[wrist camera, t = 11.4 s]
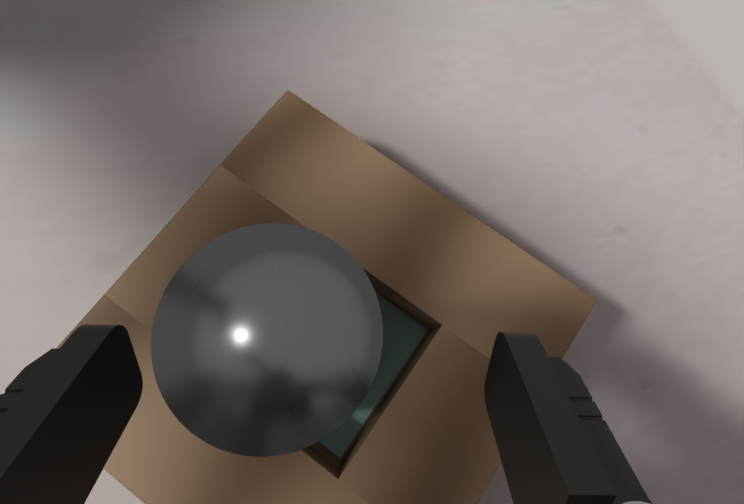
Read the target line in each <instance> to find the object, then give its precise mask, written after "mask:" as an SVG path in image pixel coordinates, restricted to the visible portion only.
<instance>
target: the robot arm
mask: <svg viewBox="0 0 744 504" xmlns="http://www.w3.org/2000/svg"><path fill="white" fill-rule="evenodd" d="M142 388H143V378H142V374H141V370H140V367H139V364H138V361H137V358H136V355H135V352H134V349H133V346H132V343H131V340H130V337H129V334H128V331H127V329H126V328H125V327H124V326H122V325H100V324H84V325H81V326H79V327H78V328H77V329H76V330H75V331H74V332H73V333H72V334H71V335H70V337H69V338H68V339H67V340H66V341H65V342H64V344H63V345H62V346H61V347H60V348H59V349H51V350H50V351H48V352H47V353H45V354H44V355H42V356H41V357H39V358H38V359H37V360H35V361H34V362H32V363H31V364H29V365H28V366H26V367H25V368H24V369H23V370H22V371H21V372H20V374H19V375H18V376H17V377H16V378H15V379H14V380H13V381H12V382H11V384H10V385H9V386H8V387H7V388H6V389H5V393H4V394H1V395H0V504H84V503H85V501H86V499H87V497H88V495H89V494H90V492H91V490H92V488H93V486H94V484H95V483H96V481H97V479H98V477H99V475H100V473H101V472H102V470H103V468H104V466H105V464H106V462H107V461H108V459H109V457H110V455H111V453H112V451H113V450H114V448H115V446H116V444H117V442H118V440H119V439H120V437H121V435H122V433H123V431H124V430H125V428H126V426H127V424H128V422H129V420H130V419H131V417H132V415H133V413H134V411H135V409H136V408H137V406H138V404H139V401H140V398H141V394H142ZM484 396H485V404H486V409H487V413H488V416H489V420H490V423H491V427H492V430H493V433H494V437H495V440H496V444H497V447H498V451H499V454H500V458H501V461H502V465H503V468H504V471H505V475H506V478H507V482H508V485H509V489H510V492H511V496H512V499H513V503H514V504H652V502H651V501H650V500H649V498H648V497H647V495H646V493H645V492H644V490H643V488H642V486H641V485H640V483H639V481H638V479H637V477H636V476H635V474H634V472H633V470H632V468H631V467H630V465H629V463H628V461H627V459H626V458H625V456H624V454H623V452H622V450H621V449H620V447H619V445H618V443H617V442H616V440H615V438H614V436H613V434H612V433H611V431H610V429H609V427H608V425H607V424H606V422H605V420H602V415H601V413H600V411H599V409H598V407H597V406H596V404H595V402H592V397H591V395H590V393H589V391H588V389H587V388H586V386H585V384H584V382H583V380H582V379H581V377H580V375H579V374H578V373H576V372H575V371H574V370H573V369H572V368H571V367H570V366H569V365H568V364H567V363H566V362H565V361H564V360H563V359H562V358H560V357H548V356H547V354H546V352H545V350H544V348H543V346H542V344H541V342H540V340H539V338H538V336H537V335H536V334H535V333H533V332H499V333H498V334H497V336H496V338H495V342H494V346H493V350H492V354H491V358H490V362H489V366H488V371H487V375H486V379H485V386H484Z"/></svg>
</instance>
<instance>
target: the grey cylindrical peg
mask: <svg viewBox="0 0 744 504" xmlns="http://www.w3.org/2000/svg"><path fill="white" fill-rule="evenodd" d="M382 353H383V324H382V315H381V310H380V306H379V302H378V299H377V296H376V293H375V290H374V288H373V286H372V284H371V282H370V280H369V278H368V276H367V274H366V273H365V272H364V270H363V269H362V267H361V266H360V265H359V263H358V262H357V261H356V260H355V259H354V258H353V257H352V256H351V255H350V253H349V252H347V251H346V250H345V249H344V248H343V247H341V246H340V245H339V244H338V243H336V242H334V241H333V240H331V239H330V238H328V237H326V236H324V235H322V234H320V233H318V232H316V231H314V230H310V229H307V228H304V227H301V226H296V225H290V224H280V223H266V224H256V225H251V226H246V227H242V228H239V229H236V230H233V231H230V232H228V233H225V234H223V235H221V236H219V237H217V238H215V239H213V240H212V241H210V242H209V243H207V244H205V245H204V246H203V247H201V248H200V249H199V250H198V251H196V252H195V253H194V254H193V255H191V256H190V258H189V259H188V260H187V261H186V262H185V263H184V264H183V265H182V266H181V267H180V268H179V270H178V271H177V272H176V273H175V275H174V276H173V277H172V279H171V281H170V282H169V284H168V286H167V287H166V289H165V291H164V293H163V295H162V297H161V300H160V302H159V304H158V307H157V311H156V314H155V318H154V322H153V328H152V334H151V357H152V366H153V371H154V375H155V379H156V382H157V385H158V387H159V390H160V392H161V395H162V397H163V399H164V400H165V402H166V404H167V406H168V407H169V409H170V410H171V412H172V413H173V414H174V415H175V417H176V418H177V419H178V421H179V422H180V423H181V424H182V425H183V426H184V427H186V428H187V429H188V430H189V431H190V432H191V433H192V434H194V435H195V436H196V437H198V438H199V439H201V440H202V441H204V442H206V443H208V444H210V445H212V446H214V447H216V448H218V449H220V450H223V451H226V452H229V453H232V454H238V455H243V456H250V457H269V456H279V455H284V454H288V453H292V452H296V451H299V450H301V449H304V448H306V447H309V446H311V445H313V444H315V443H317V442H319V441H320V440H322V439H324V438H326V437H327V436H329V435H330V434H331V433H333V432H334V431H335V430H337V429H338V428H339V427H340V426H341V425H342V424H343V423H344V422H345V421H346V420H347V419H348V418H350V417H351V415H352V414H353V413H354V412H355V410H356V409H357V408H358V407H359V405H360V404H361V403H362V401H363V399H364V398H365V396H366V394H367V393H368V391H369V390H370V388H371V386H372V385H373V383H374V381H375V379H376V377H377V375H378V372H379V369H380V366H381V361H382Z"/></svg>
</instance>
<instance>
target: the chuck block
mask: <svg viewBox="0 0 744 504" xmlns="http://www.w3.org/2000/svg"><path fill="white" fill-rule="evenodd" d="M266 223H280V224H290V225H296V226H301V227H304V228H307V229H310V230H314V231H316V232H318V233H320V234H322V235H324V236H326V237H328V238H330V239H331V240H333V241H334V242H336V243H338V244H339V245H340V246H341V247H343V248H344V249H345V250H346V251H347V252H349V253H350V255H351V256H352V257H353V258H354V259H355V260H356V261H357V262H358V263H359V265H360V266H361V267H362V269H363V270H364V272H365V273H366V274H367V276H368V278H369V280H370V282H371V284H372V286H373V288H374V290H375V293H376V296H377V299H378V302H379V306H380V310H381V315H382V324H383V353H382V361H381V366H380V369H379V372H378V375H377V377H376V379H375V381H374V383H373V385H372V386H371V388H370V390H369V391H368V393H367V394H366V396H365V398H364V399H363V401H362V403H361V404H360V405H359V407H358V408H357V409H356V410H355V412H354V413H353V414H352V415H351V417H350V418H348V419H347V420H346V421H345V422H344V423H343V424H342V425H341V426H340V427H339V428H338V429H337V430H335V431H334V432H333V433H331V434H330V435H329V436H327V437H326V438H324V439H322V440H320V441H319V442H317V443H315V444H313V445H311V446H309V447H306V448H304V449H301V450H299V451H296V452H292V453H288V454H284V455H279V456H269V457H250V456H243V455H238V454H232V453H229V452H226V451H223V450H220V449H218V448H216V447H214V446H212V445H210V444H208V443H206V442H204V441H202V440H201V439H199V438H198V437H196V436H195V435H194V434H192V433H191V432H190V431H189V430H188V429H187V428H186V427H184V426H183V425H182V424H181V423H180V422H179V421H178V419H177V418H176V417H175V415H174V414H173V413H172V412H171V410H170V409H169V407H168V406H167V404H166V402H165V400H164V399H163V397H162V395H161V392H160V390H159V387H158V385H157V382H156V379H155V375H154V371H153V366H152V357H151V334H152V328H153V322H154V318H155V314H156V311H157V307H158V304H159V302H160V300H161V297H162V295H163V293H164V291H165V289H166V287H167V286H168V284H169V282H170V281H171V279H172V277H173V276H174V275H175V273H176V272H177V271H178V270H179V268H180V267H181V266H182V265H183V264H184V263H185V262H186V261H187V260H188V259H189V258H190V256H191V255H193V254H194V253H195V252H196V251H198V250H199V249H200V248H201V247H203V246H204V245H205V244H207V243H209V242H210V241H212V240H213V239H215V238H217V237H219V236H221V235H223V234H225V233H228V232H230V231H233V230H236V229H239V228H242V227H246V226H251V225H256V224H266ZM595 302H596V299H594V298H593V297H591V296H590V295H588V294H587V293H585V292H584V291H582V290H581V289H580V288H578V287H577V286H575V285H574V284H572V283H571V282H569V281H568V280H566V279H565V278H563V277H562V276H560V275H559V274H558V273H556V272H555V271H553V270H552V269H550V268H549V267H547V266H546V265H544V264H543V263H541V262H540V261H538V260H537V259H535V258H534V257H533V256H531V255H530V254H528V253H527V252H525V251H524V250H522V249H521V248H519V247H518V246H516V245H515V244H513V243H512V242H510V241H509V240H508V239H506V238H505V237H503V236H502V235H500V234H499V233H497V232H496V231H494V230H493V229H491V228H490V227H488V226H487V225H486V224H484V223H483V222H481V221H480V220H478V219H477V218H475V217H474V216H472V215H471V214H469V213H468V212H466V211H465V210H463V209H462V208H461V207H459V206H458V205H456V204H455V203H453V202H452V201H450V200H449V199H447V198H446V197H444V196H443V195H441V194H440V193H438V192H437V191H436V190H434V189H433V188H431V187H430V186H428V185H427V184H425V183H424V182H422V181H421V180H419V179H418V178H416V177H415V176H414V175H412V174H411V173H409V172H408V171H406V170H405V169H403V168H402V167H400V166H399V165H397V164H396V163H394V162H393V161H391V160H390V159H389V158H387V157H386V156H384V155H383V154H381V153H380V152H378V151H377V150H375V149H374V148H372V147H371V146H369V145H368V144H366V143H365V142H364V141H362V140H361V139H359V138H358V137H356V136H355V135H353V134H352V133H350V132H349V131H347V130H346V129H344V128H343V127H342V126H340V125H339V124H337V123H336V122H334V121H333V120H331V119H330V118H328V117H327V116H325V115H324V114H322V113H321V112H319V111H318V110H317V109H315V108H314V107H312V106H311V105H309V104H308V103H306V102H305V101H303V100H302V99H300V98H299V97H297V96H296V95H295V94H293V93H292V92H290V91H289V90H287V91H286V92H285V93H284V94H283V96H282V97H281V98H280V99H279V100H278V101H277V102H276V103H275V105H274V106H273V107H272V108H271V109H270V110H269V111H268V112H267V113H266V115H265V116H264V117H263V118H262V119H261V120H260V121H259V122H258V124H257V125H256V126H255V127H254V128H253V129H252V130H251V131H250V132H249V134H248V135H247V136H246V137H245V138H244V139H243V140H242V141H241V143H240V144H239V145H238V146H237V147H236V148H235V149H234V150H233V151H232V153H231V154H230V155H229V156H228V157H227V158H226V159H225V160H224V162H223V163H222V164H221V165H220V166H219V167H218V168H217V169H216V170H215V172H214V173H213V174H212V175H211V176H210V177H209V178H208V179H207V181H206V182H205V183H204V184H203V185H202V186H201V187H200V188H199V189H198V191H197V192H196V193H195V194H194V195H193V196H192V197H191V198H190V199H189V201H188V202H187V203H186V204H185V205H184V206H183V207H182V208H181V210H180V211H179V212H178V213H177V214H176V215H175V216H174V217H173V218H172V220H171V221H170V222H169V223H168V224H167V225H166V226H165V227H164V229H163V230H162V231H161V232H160V233H159V234H158V235H157V236H156V237H155V239H154V240H153V241H152V242H151V243H150V244H149V245H148V246H147V248H146V249H145V250H144V251H143V252H142V253H141V254H140V255H139V256H138V258H137V259H136V260H135V261H134V262H133V263H132V264H131V265H130V267H129V268H128V269H127V270H126V271H125V272H124V273H123V274H122V275H121V277H120V278H119V279H118V280H117V281H116V282H115V283H114V284H113V286H112V287H111V288H110V289H109V290H108V291H107V292H106V293H105V294H104V296H103V297H102V298H101V299H100V300H99V301H98V302H97V303H96V304H95V306H94V307H93V308H92V309H91V310H90V311H89V312H88V313H87V315H86V316H85V317H84V318H83V319H82V320H81V321H80V322H79V323H78V325H77V326H76V327H75V328H74V329H73V330H72V331H71V332H70V334H69V335H68V336H67V337H66V338H65V339H64V340H63V341H62V342H61V344H60V345H59V346H58V347H57V348H56V349H59V348H60V347H61V346H62V345H63V344H64V342H65V341H66V340H67V339H68V338H69V337H70V335H71V334H72V333H73V332H74V331H75V330H76V329H77V328H78V327H79V326H81V325H84V324H100V325H122V326H124V327H125V328H126V329H127V331H128V334H129V337H130V340H131V343H132V346H133V349H134V352H135V355H136V358H137V361H138V364H139V367H140V370H141V374H142V378H143V388H142V394H141V398H140V401H139V404H138V406H137V408H136V409H135V411H134V413H133V415H132V417H131V419H130V420H129V422H128V424H127V426H126V428H125V430H124V431H123V433H122V435H121V437H120V439H119V440H118V442H117V444H116V446H115V448H114V450H113V451H112V453H111V455H110V457H109V459H108V461H107V462H106V464H105V466H104V468H103V469H105V470H106V471H107V472H108V473H109V474H111V475H112V476H113V477H114V478H115V479H116V480H118V481H119V482H120V483H121V484H122V485H123V486H125V487H126V488H127V489H128V490H129V491H131V492H132V493H133V494H134V495H135V496H136V497H138V498H139V499H140V500H141V501H142V502H144V503H145V504H477V502H478V500H479V499H480V497H481V495H482V494H483V492H484V490H485V489H486V487H487V485H488V484H489V482H490V480H491V478H492V477H493V475H494V473H495V472H496V470H497V468H498V467H499V465H500V463H501V458H500V454H499V451H498V447H497V444H496V440H495V437H494V433H493V430H492V427H491V423H490V420H489V416H488V413H487V409H486V404H485V396H484V386H485V379H486V375H487V371H488V366H489V362H490V358H491V354H492V350H493V346H494V342H495V338H496V336H497V334H498V333H499V332H533V333H535V334H536V335H537V336H538V338H539V340H540V342H541V344H542V346H543V348H544V350H545V352H546V354H547V356H548V357H560V358H563V356H564V355H565V353H566V351H567V350H568V348H569V346H570V344H571V343H572V341H573V339H574V338H575V336H576V334H577V333H578V331H579V329H580V328H581V326H582V324H583V322H584V321H585V319H586V317H587V316H588V314H589V312H590V311H591V309H592V307H593V305H594V304H595Z"/></svg>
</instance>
